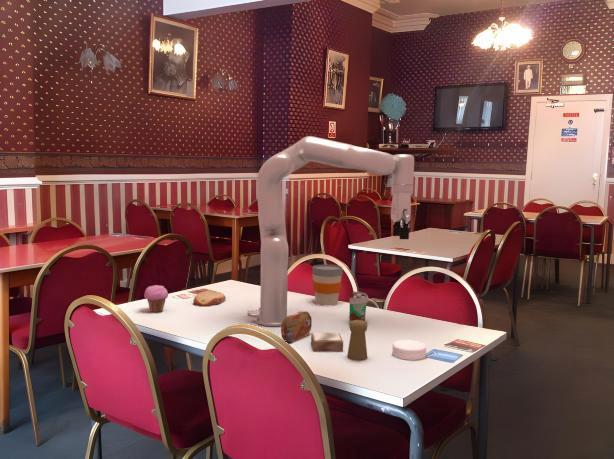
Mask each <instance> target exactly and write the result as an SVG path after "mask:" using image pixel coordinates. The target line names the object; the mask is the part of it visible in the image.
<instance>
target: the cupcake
mask: <svg viewBox="0 0 614 459" xmlns="http://www.w3.org/2000/svg"><path fill="white" fill-rule="evenodd" d="M168 297H169V293H168V290H167V289H166V288H165V286H164V285H157V284H155V285H149V286H148V287H146V288H145V290H144V298H145V299H146V301H147V302H148V309H149V311H150V312H152V313H157V312H158V313H161V312H163V311H164V307H165V303H166V299H168Z"/></svg>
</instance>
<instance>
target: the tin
mask: <svg viewBox="0 0 614 459" xmlns="http://www.w3.org/2000/svg"><path fill="white" fill-rule="evenodd" d="M312 321H313V320H312V316H311V313H310V312H308V311H307V310H306V311H304V310H303V311H302V310H301V311H297V312H295V313H292V314H290V315H287V317H285V318H284V320H283V321H282V324H281V326H280V328H281V329H280V334H281V337H282V340H283V341H284V342H288V343H295V342H297V341H300V340H301V339H304V338H306V337H308V336H309V334H311V330H312V323H313V322H312Z"/></svg>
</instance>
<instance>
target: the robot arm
mask: <svg viewBox="0 0 614 459" xmlns="http://www.w3.org/2000/svg"><path fill="white" fill-rule="evenodd" d="M310 162H313V163H319V164H322V165H327V166H331V167H336V168H342V169H351V170H352V169H354V170H358V171H360V170H361V171H365V172H370V173H374V174H376V175H379V176H388V175H390V174H391V194H392V200H391V208H390V209H391V210H390V219H391V221H393V222H392V224H393V225H392V237H399V240H409V239H410V221H411V214H412V210H411V209H412V206H411V205H412V202H411V200H412V199H411V198H412V197H411V196H412V195H413V194H414V180H415V179H414V175H415V174H414V173H415V171H414V170H415V157H414V155H412V154H407V153H406V154H405V153H404V154H403V153H402V154H399V153H398V154H390V153H388V152H385V151H384V152H383V151H379V150H375V149H370V148H365V147H361V146H356V145H353V144H349V143H344V142H340V141H336V140H331V139H327V138H321V137H317V136H313V135H309V136H308V135H307V136H305V137H302V138H301V139H300V140H298V141H296V142H295V143H294V144H292V145H290V146H288V147H287V148H285V149H284V150H282V151H280V152H278V153H275V154H274V155H273V156H271V157H269V158H268V159H267V160H266V161H265V162H264V163H263V164H262V166H261V167H260V169H259V171H258V174H257V178H256V193H257V194H256V195H257V207H258V214H257V216H258V217H257V219H258V225H259V233H260V243H261V244H260V298H259V299H260V304H259V309H256V310H247V317H250V318H255V323H257V324H258V325H260V326H264V327H281V324H282V321H283V320H284V318H285V317H287V316H288V270H289V269H288V266H289V265H288V264H289V244H288V239H287V230H286V217H285V211H284V206H283V205H284V204H283V196H282V195H283V194H282V192H283V191H282V183H283V180H284V178H285V177H288V176H290V174H292V173H294V172H295V171H297V170H299V169H301V168H302V167H304V166H305V165H307V164H308V163H310Z"/></svg>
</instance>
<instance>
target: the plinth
mask: <svg viewBox="0 0 614 459" xmlns="http://www.w3.org/2000/svg"><path fill="white" fill-rule="evenodd" d="M310 334H311V336H310V337H311V338H310V343H311V349H312V350H313V352H344V340H343V338H342V335H341V333H339V332H312V333H311V332H310Z"/></svg>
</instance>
